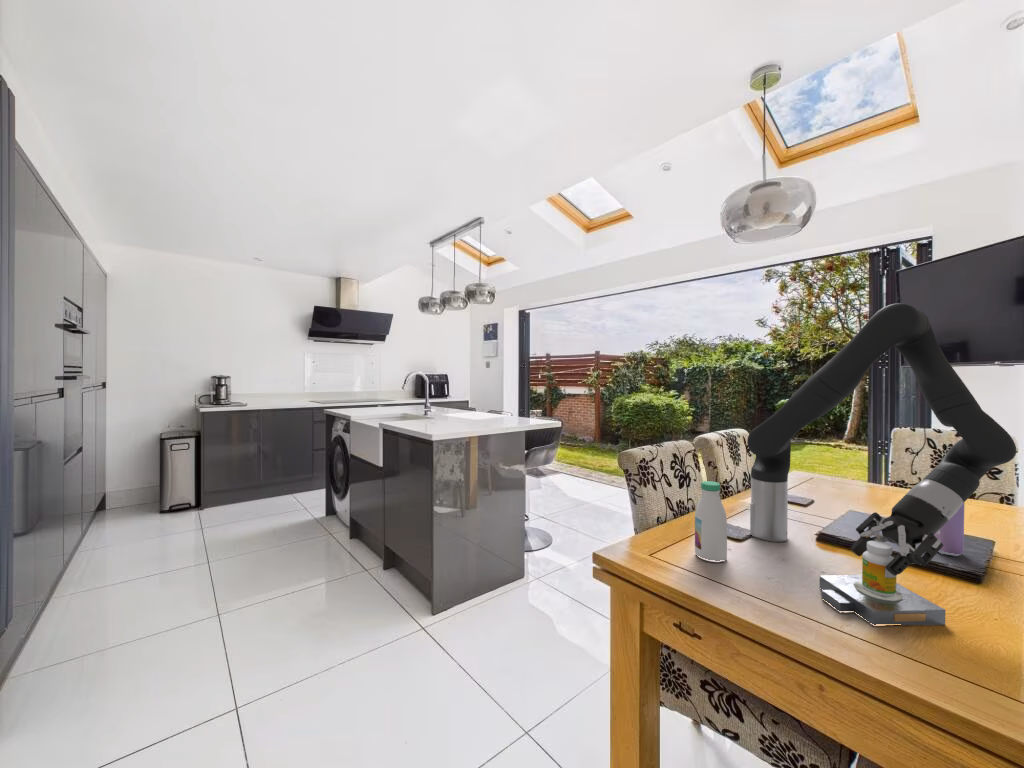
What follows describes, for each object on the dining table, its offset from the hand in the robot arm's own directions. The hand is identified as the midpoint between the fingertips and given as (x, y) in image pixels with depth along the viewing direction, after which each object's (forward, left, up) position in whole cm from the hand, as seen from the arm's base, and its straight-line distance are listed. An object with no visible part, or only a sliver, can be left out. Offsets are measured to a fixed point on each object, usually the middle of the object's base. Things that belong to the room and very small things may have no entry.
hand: (871, 562), depth 88 cm
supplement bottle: (+1, +1, -6) cm, 6 cm away
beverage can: (+20, +43, -9) cm, 48 cm away
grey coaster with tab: (0, 0, -9) cm, 9 cm away
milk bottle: (-32, +7, -9) cm, 34 cm away
